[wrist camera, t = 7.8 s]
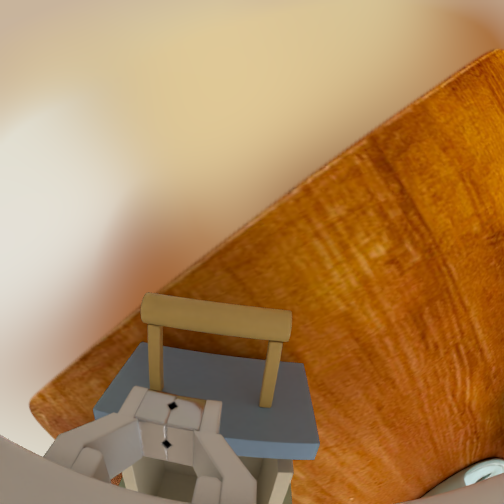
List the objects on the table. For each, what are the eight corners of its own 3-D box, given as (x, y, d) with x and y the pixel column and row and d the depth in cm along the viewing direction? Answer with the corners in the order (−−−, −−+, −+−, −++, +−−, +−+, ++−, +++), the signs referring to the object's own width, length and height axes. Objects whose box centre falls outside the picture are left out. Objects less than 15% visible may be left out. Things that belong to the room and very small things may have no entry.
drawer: (140, 263, 18) (77, 307, 11) (318, 285, 18) (350, 344, 11) (151, 462, 22) (128, 526, 15) (274, 480, 22) (275, 549, 14)
